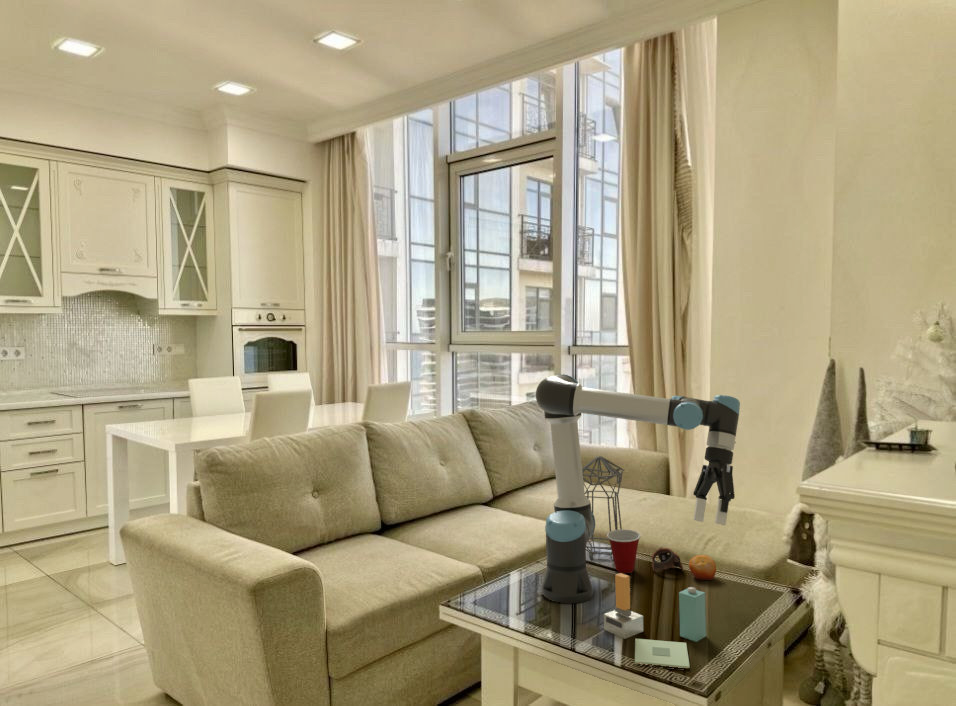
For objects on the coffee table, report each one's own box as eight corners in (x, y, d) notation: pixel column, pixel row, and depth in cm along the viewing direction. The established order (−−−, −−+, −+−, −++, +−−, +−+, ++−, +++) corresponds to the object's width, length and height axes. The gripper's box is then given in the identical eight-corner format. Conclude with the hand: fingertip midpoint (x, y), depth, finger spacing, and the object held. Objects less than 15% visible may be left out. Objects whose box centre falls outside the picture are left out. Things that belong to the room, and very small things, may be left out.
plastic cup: (601, 571, 211) (600, 534, 211) (617, 562, 219) (616, 527, 219) (631, 578, 204) (631, 540, 204) (647, 569, 212) (646, 532, 212)
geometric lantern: (576, 561, 222) (572, 459, 223) (584, 549, 236) (581, 453, 237) (622, 565, 216) (619, 460, 217) (628, 552, 231) (625, 453, 232)
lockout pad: (634, 664, 149) (634, 660, 149) (635, 641, 160) (635, 638, 160) (689, 670, 146) (689, 666, 146) (686, 646, 157) (686, 642, 157)
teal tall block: (680, 636, 163) (678, 588, 163) (689, 630, 166) (688, 583, 166) (696, 641, 159) (695, 593, 159) (705, 636, 162) (704, 588, 162)
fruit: (715, 568, 207) (715, 551, 203) (716, 589, 201) (716, 571, 197) (689, 566, 210) (688, 549, 206) (689, 586, 203) (688, 569, 199)
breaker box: (622, 622, 172) (622, 607, 172) (643, 631, 166) (643, 615, 166) (603, 629, 167) (603, 614, 167) (624, 639, 162) (623, 623, 162)
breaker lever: (620, 610, 169) (619, 572, 169) (631, 615, 166) (631, 576, 166) (614, 612, 168) (613, 574, 168) (626, 617, 165) (625, 578, 165)
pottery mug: (690, 575, 207) (681, 556, 204) (663, 589, 207) (654, 570, 205) (674, 554, 218) (666, 536, 216) (649, 567, 218) (640, 549, 216)
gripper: (754, 450, 176) (743, 529, 171) (712, 453, 200) (701, 522, 196) (728, 443, 175) (717, 522, 171) (689, 447, 200) (678, 516, 195)
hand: (708, 522), depth 183 cm, fingers open, 13 cm apart
